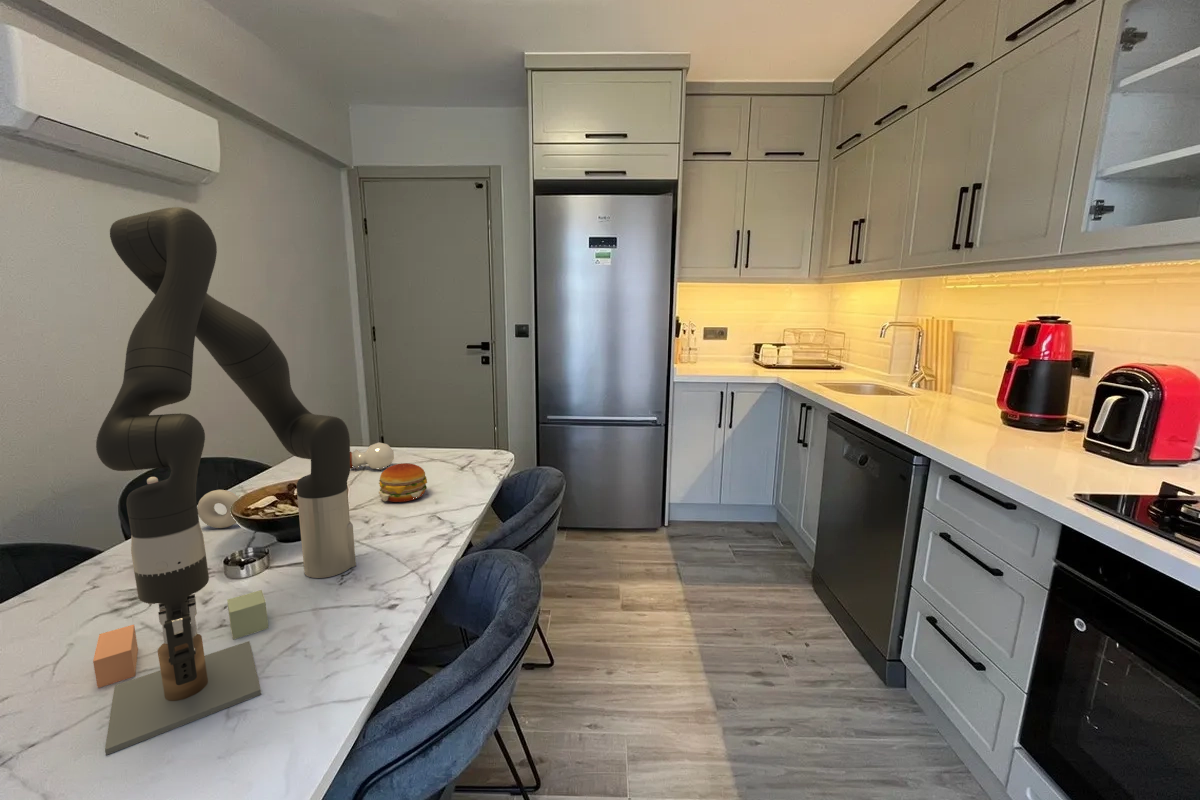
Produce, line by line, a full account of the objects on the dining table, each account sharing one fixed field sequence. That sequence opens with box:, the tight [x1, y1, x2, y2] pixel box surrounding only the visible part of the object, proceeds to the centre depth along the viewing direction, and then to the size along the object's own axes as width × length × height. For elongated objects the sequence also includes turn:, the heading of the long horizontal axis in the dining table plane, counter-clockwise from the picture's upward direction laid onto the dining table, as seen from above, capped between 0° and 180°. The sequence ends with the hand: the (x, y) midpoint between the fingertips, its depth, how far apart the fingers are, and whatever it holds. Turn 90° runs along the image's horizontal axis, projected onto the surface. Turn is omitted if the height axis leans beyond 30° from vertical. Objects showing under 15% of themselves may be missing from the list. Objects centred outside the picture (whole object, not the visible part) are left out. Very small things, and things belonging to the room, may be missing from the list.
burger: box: [378, 462, 428, 503], centre depth 149 cm, size 13×14×10 cm
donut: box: [197, 489, 240, 529], centre depth 126 cm, size 10×4×10 cm, turn 99°
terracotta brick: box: [92, 624, 139, 689], centre depth 77 cm, size 8×4×4 cm, turn 40°
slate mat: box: [104, 640, 262, 756], centre depth 72 cm, size 16×14×1 cm
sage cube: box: [226, 589, 269, 640], centre depth 87 cm, size 5×5×5 cm
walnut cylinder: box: [157, 633, 208, 701], centre depth 71 cm, size 5×5×7 cm
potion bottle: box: [350, 442, 395, 471], centre depth 176 cm, size 9×10×15 cm
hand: (186, 664), depth 72 cm, fingers open, 8 cm apart
